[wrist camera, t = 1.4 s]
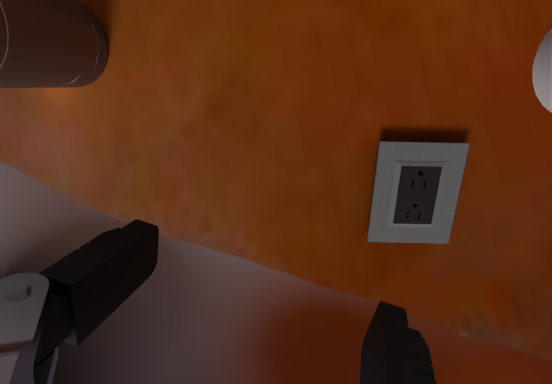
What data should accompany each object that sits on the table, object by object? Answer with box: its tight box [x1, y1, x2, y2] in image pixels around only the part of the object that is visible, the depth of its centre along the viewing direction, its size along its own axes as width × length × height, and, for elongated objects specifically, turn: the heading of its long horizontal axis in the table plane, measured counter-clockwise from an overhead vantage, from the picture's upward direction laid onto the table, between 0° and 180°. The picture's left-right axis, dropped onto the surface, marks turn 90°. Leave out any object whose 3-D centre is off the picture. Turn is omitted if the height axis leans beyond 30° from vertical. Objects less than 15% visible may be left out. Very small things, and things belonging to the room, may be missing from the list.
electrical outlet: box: [367, 141, 470, 243], centre depth 41 cm, size 13×10×2 cm
